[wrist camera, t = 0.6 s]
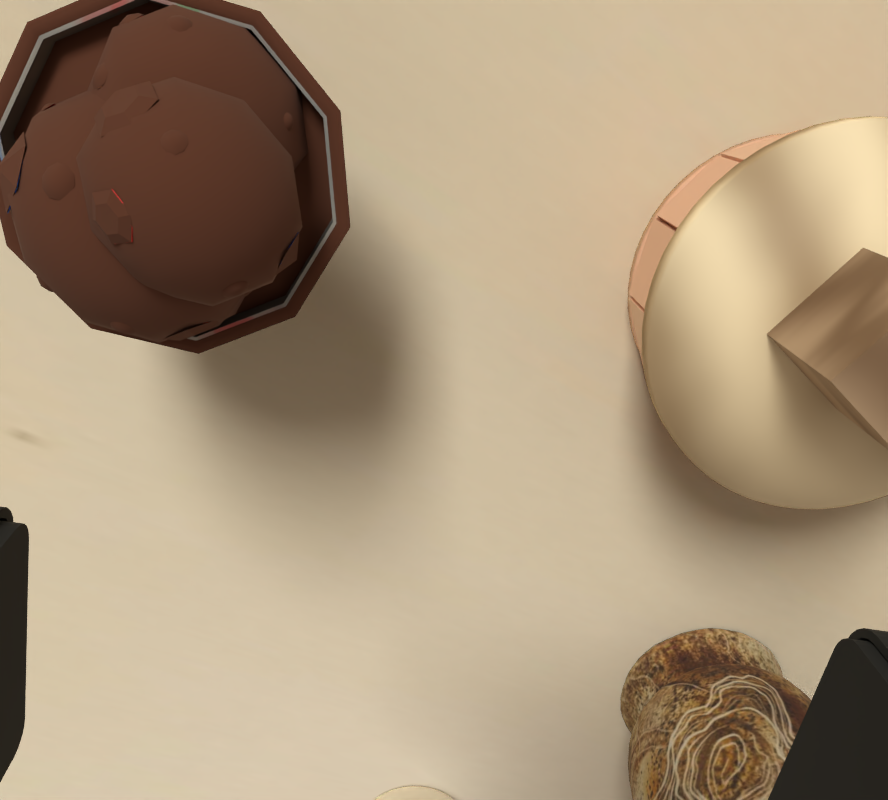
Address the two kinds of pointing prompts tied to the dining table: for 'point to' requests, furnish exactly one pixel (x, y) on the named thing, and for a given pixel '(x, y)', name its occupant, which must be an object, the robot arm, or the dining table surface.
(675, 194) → the bowl
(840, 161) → the lid
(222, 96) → the ice cream bowl
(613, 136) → the dining table surface
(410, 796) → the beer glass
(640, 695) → the vase
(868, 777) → the robot arm
